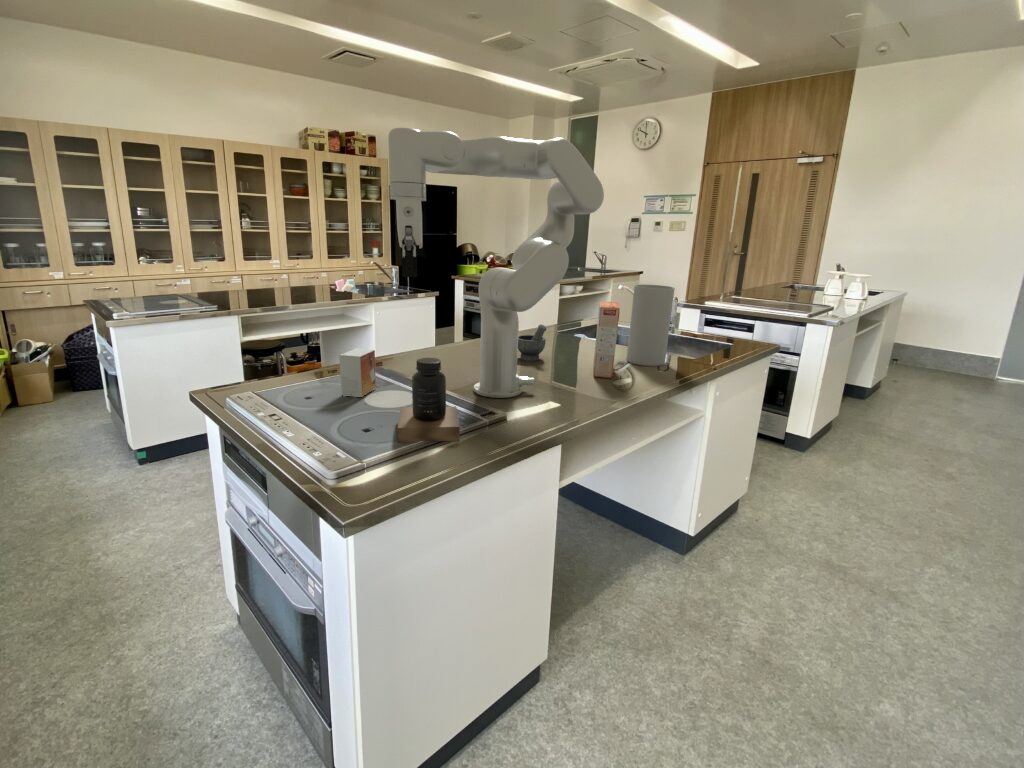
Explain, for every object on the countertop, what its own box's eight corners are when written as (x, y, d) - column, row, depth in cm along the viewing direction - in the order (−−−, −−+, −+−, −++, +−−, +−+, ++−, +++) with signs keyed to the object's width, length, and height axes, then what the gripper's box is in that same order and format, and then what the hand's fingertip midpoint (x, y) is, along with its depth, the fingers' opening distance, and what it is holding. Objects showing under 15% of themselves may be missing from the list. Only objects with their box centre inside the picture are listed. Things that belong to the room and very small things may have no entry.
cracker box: (613, 379, 150) (620, 307, 144) (592, 377, 151) (599, 306, 145) (612, 367, 163) (618, 301, 157) (593, 365, 164) (598, 300, 158)
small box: (362, 398, 124) (360, 356, 121) (340, 396, 125) (338, 354, 122) (376, 389, 132) (375, 349, 129) (356, 387, 133) (354, 347, 130)
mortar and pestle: (509, 356, 171) (510, 321, 168) (529, 353, 177) (531, 318, 174) (532, 364, 163) (534, 326, 160) (553, 360, 169) (555, 324, 166)
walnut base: (456, 419, 114) (456, 406, 113) (459, 440, 102) (459, 426, 101) (400, 420, 112) (400, 407, 111) (397, 442, 100) (397, 428, 99)
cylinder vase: (627, 365, 166) (636, 287, 159) (625, 356, 178) (632, 283, 171) (667, 368, 165) (677, 289, 158) (661, 359, 177) (671, 285, 170)
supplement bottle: (414, 410, 109) (413, 355, 106) (446, 410, 110) (446, 356, 106) (410, 422, 103) (409, 364, 99) (445, 422, 103) (445, 364, 100)
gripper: (427, 191, 102) (428, 279, 107) (425, 196, 118) (426, 271, 123) (388, 189, 100) (391, 278, 105) (391, 194, 117) (393, 271, 122)
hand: (409, 274), depth 114 cm, fingers open, 9 cm apart
